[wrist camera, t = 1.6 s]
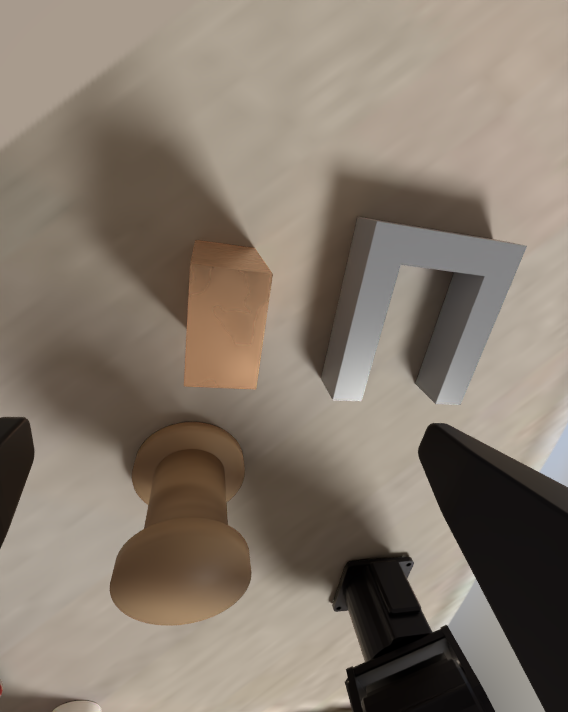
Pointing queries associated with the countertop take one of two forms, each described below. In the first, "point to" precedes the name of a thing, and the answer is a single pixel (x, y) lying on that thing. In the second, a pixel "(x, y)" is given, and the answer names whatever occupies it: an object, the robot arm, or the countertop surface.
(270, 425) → the countertop surface
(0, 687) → the soda can
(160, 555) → the knob
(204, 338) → the orange tan block
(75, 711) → the tube
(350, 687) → the robot arm
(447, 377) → the grey u-shaped frame
